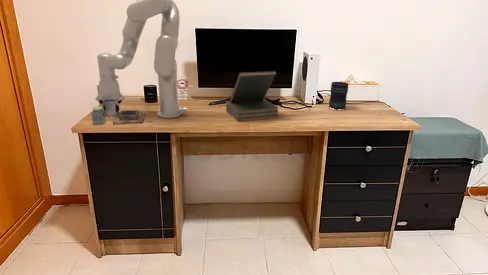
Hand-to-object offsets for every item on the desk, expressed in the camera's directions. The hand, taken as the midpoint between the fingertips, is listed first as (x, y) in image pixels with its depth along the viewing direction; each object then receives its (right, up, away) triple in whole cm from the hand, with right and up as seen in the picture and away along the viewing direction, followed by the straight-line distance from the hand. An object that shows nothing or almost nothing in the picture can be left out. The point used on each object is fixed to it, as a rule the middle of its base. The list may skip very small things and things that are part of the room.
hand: (111, 111), depth 183 cm
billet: (0, -1, 0) cm, 2 cm away
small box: (-7, +3, +13) cm, 15 cm away
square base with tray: (+12, -4, -7) cm, 14 cm away
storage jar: (+126, +4, +23) cm, 128 cm away
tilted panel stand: (+74, -2, +6) cm, 75 cm away
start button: (-1, -5, -12) cm, 14 cm away
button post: (-1, -6, -12) cm, 14 cm away
